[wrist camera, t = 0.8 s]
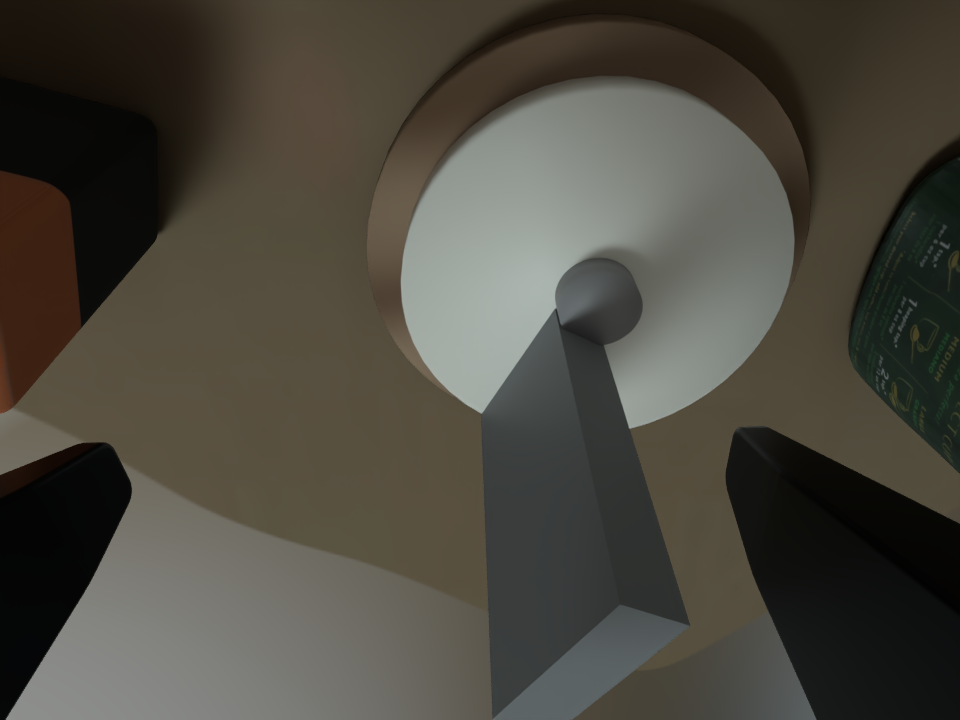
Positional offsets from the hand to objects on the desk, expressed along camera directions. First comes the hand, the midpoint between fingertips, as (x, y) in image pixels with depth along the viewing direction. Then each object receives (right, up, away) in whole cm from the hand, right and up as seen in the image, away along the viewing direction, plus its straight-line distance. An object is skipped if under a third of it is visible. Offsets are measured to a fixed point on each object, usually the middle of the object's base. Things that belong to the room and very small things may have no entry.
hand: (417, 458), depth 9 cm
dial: (+4, +4, +11) cm, 13 cm away
